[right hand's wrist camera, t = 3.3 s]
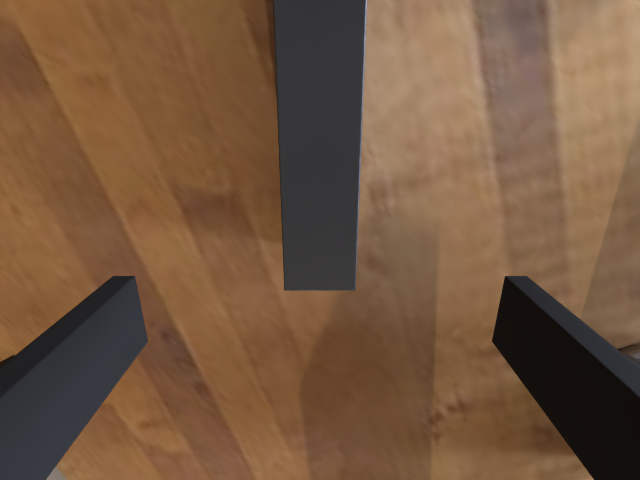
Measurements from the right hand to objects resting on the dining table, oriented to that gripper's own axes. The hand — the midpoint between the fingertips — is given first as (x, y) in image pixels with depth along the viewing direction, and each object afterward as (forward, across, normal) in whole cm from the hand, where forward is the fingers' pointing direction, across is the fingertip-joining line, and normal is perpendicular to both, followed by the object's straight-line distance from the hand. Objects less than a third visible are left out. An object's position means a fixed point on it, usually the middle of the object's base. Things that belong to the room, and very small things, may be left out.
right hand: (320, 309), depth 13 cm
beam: (+17, 0, -10) cm, 19 cm away
